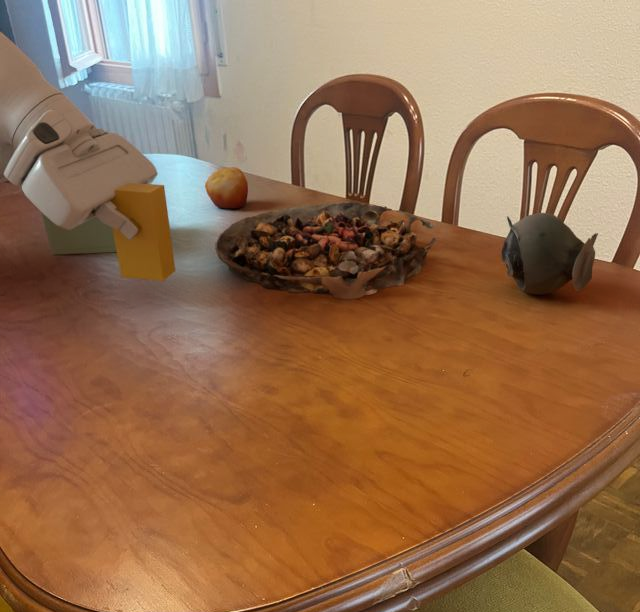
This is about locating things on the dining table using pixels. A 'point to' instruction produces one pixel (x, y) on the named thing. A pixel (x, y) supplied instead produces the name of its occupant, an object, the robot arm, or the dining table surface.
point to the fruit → (227, 188)
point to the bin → (80, 237)
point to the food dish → (324, 249)
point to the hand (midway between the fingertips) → (145, 228)
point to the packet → (144, 233)
